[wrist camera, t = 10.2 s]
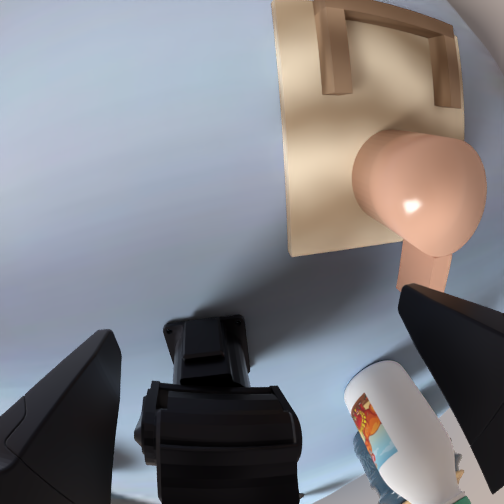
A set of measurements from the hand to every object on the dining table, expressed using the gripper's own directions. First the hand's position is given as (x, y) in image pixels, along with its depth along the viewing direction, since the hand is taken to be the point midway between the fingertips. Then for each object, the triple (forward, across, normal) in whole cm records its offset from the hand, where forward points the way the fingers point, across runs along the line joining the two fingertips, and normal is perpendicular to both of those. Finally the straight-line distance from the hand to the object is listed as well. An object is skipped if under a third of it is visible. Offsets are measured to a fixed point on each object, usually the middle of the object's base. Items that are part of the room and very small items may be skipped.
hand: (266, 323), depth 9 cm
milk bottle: (+13, -14, +22) cm, 29 cm away
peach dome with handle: (+12, -12, +1) cm, 17 cm away
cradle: (+13, -12, -5) cm, 18 cm away
